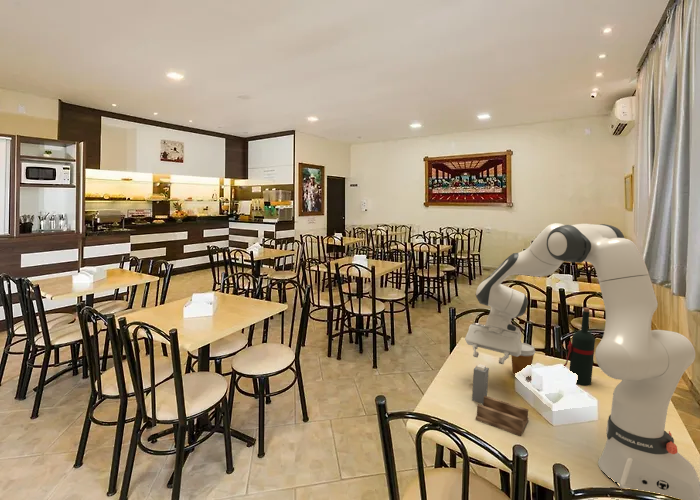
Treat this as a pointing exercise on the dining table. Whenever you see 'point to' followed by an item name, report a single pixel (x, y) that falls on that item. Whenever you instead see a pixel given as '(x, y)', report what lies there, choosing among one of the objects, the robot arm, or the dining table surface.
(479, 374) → the post
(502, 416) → the wooden card holder
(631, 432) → the robot arm
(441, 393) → the dining table surface
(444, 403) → the dining table surface
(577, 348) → the wine bottle
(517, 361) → the disposable coffee cup
